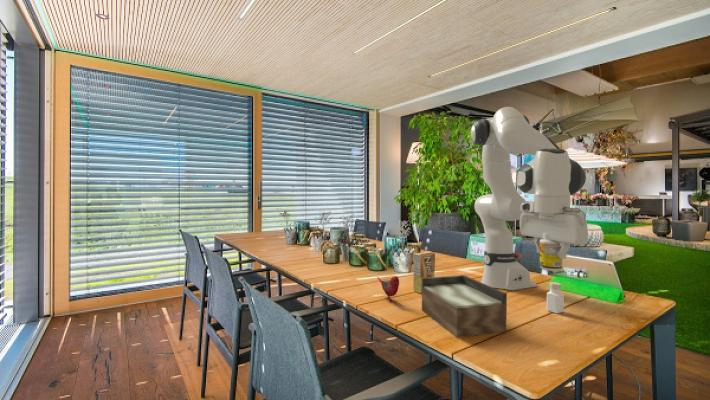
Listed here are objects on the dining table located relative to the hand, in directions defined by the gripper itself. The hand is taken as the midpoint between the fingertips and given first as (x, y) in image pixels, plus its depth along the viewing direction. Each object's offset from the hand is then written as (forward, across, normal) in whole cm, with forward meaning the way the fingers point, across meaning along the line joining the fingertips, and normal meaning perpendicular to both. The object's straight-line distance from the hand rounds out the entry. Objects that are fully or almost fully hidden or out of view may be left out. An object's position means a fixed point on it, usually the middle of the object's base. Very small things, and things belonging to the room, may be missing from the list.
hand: (550, 255), depth 96 cm
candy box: (+23, +48, +15) cm, 55 cm away
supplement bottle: (+4, 0, 0) cm, 4 cm away
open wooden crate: (+22, +16, +18) cm, 33 cm away
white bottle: (+23, +15, -17) cm, 32 cm away
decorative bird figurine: (+22, +42, +33) cm, 58 cm away
